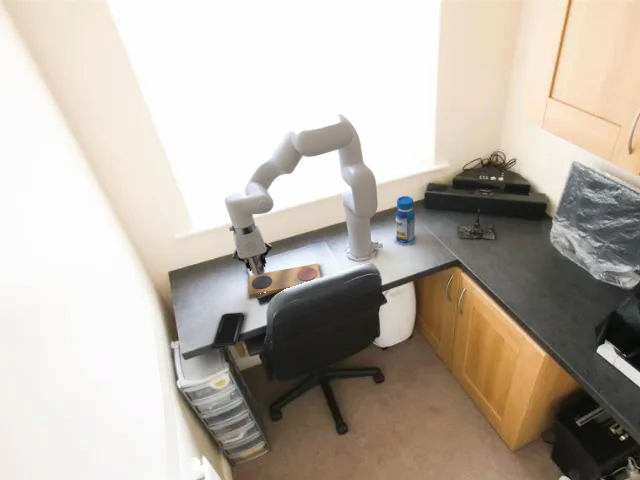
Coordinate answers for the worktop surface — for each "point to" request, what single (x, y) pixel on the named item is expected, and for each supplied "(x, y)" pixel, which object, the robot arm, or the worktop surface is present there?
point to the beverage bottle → (405, 220)
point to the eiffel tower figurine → (476, 230)
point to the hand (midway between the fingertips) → (257, 266)
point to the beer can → (256, 265)
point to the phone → (228, 329)
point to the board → (281, 279)
